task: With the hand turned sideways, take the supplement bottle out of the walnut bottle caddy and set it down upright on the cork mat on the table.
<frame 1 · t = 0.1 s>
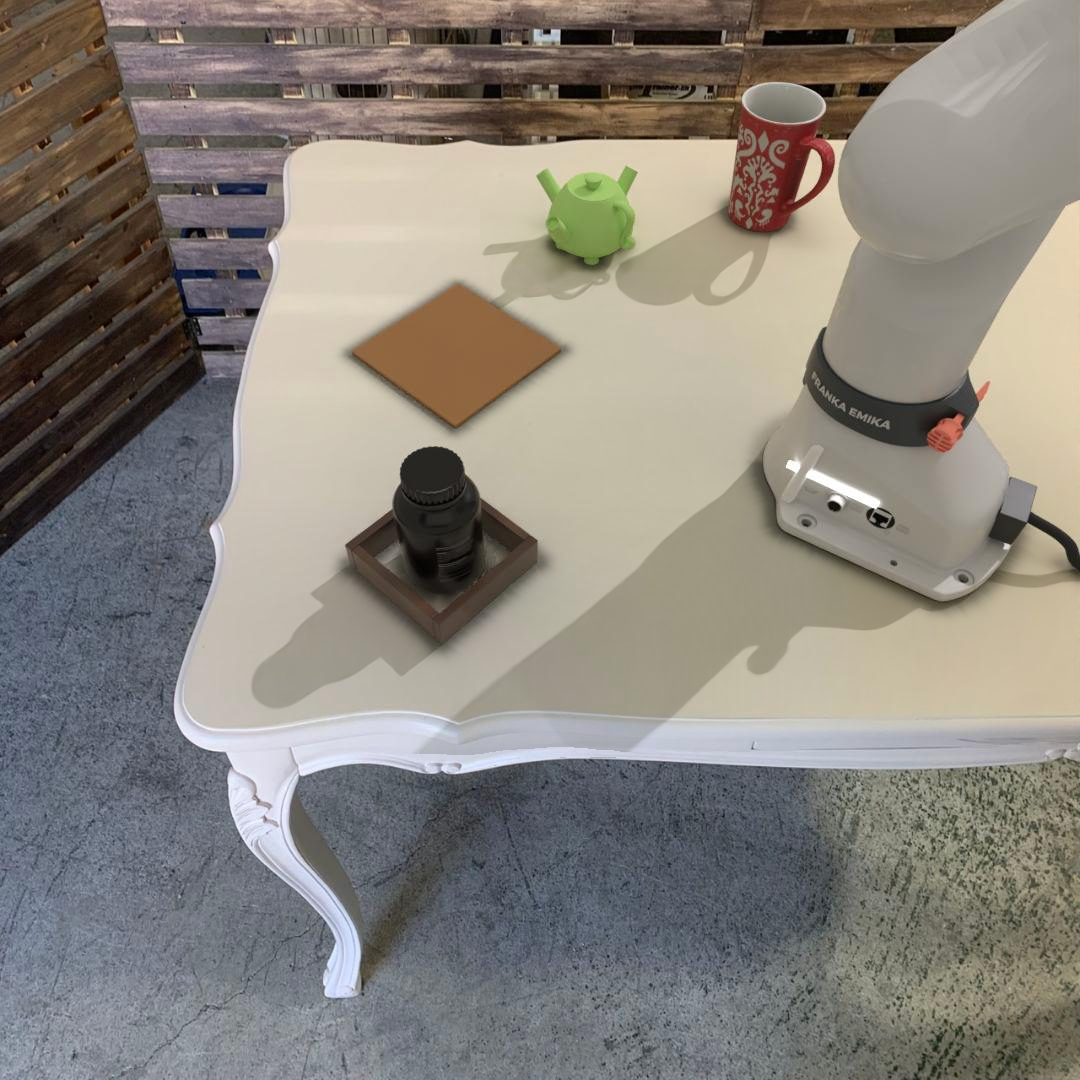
caddy: (444, 563, 75), on the table
teapot: (583, 243, 103), on the table
cork mat: (457, 352, 91), on the table
supplement bottle: (444, 564, 76), resting in caddy
mug: (766, 223, 106), on the table
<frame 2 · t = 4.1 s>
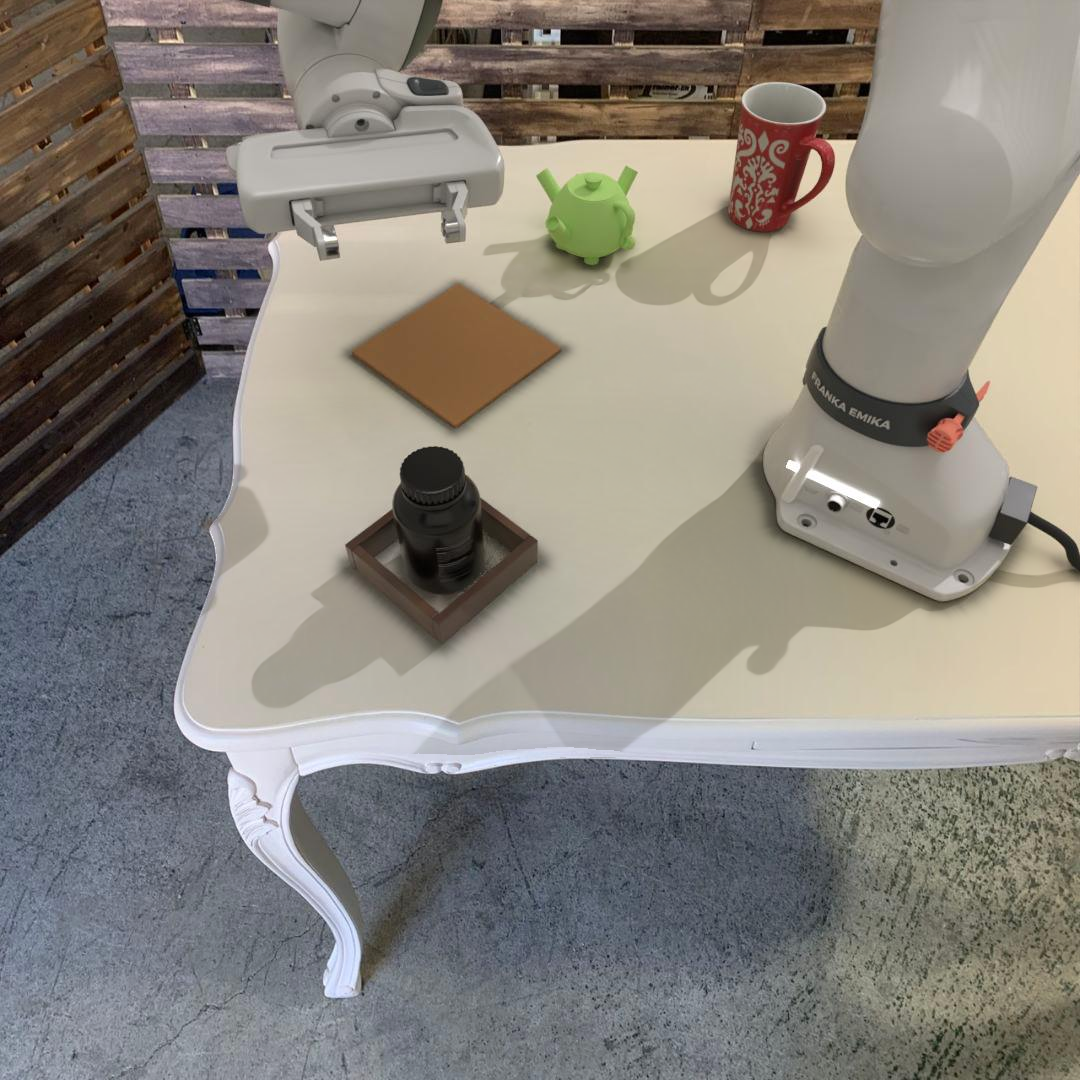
hand: (394, 244, 66), 22 cm above the table, tool horizontal, fingers open, 8 cm apart
nothing on the table moved.
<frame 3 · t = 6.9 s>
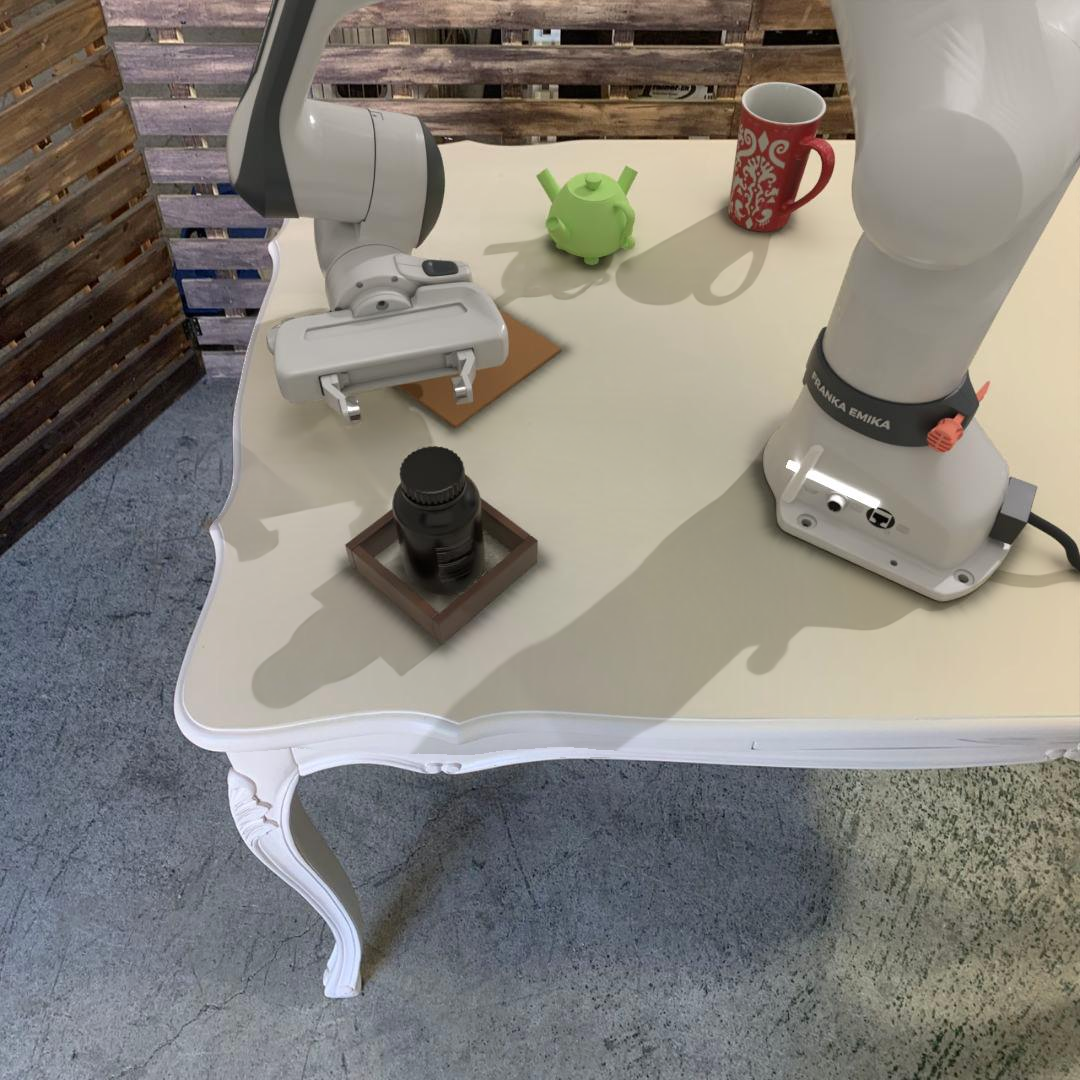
hand: (409, 409, 75), 8 cm above the table, tool horizontal, fingers open, 8 cm apart
nothing on the table moved.
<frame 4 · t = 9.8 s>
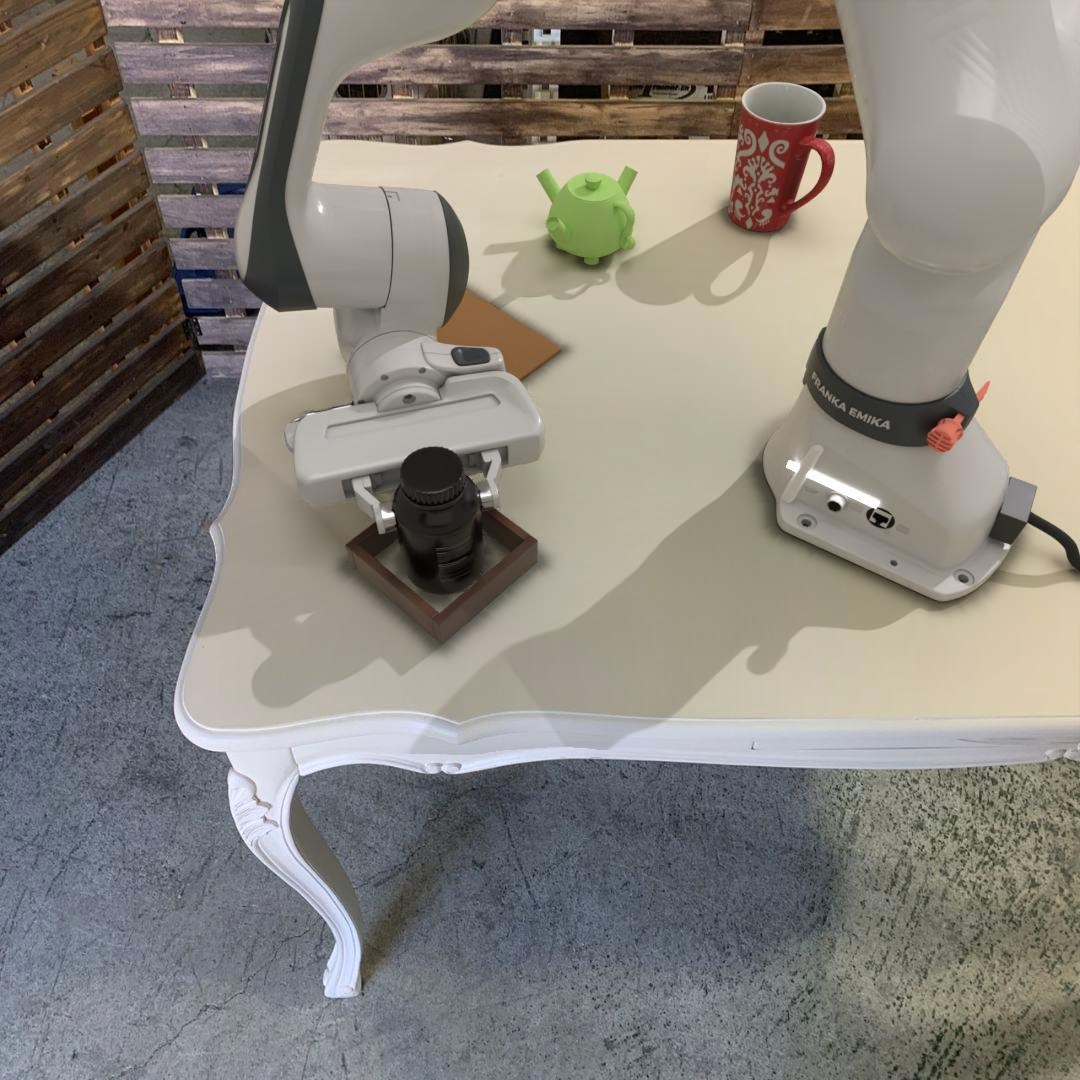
hand: (440, 516, 69), 8 cm above the table, tool horizontal, fingers closed on supplement bottle, 7 cm apart
supplement bottle: (444, 565, 76), resting in caddy, touching gripper
everything else where it was.
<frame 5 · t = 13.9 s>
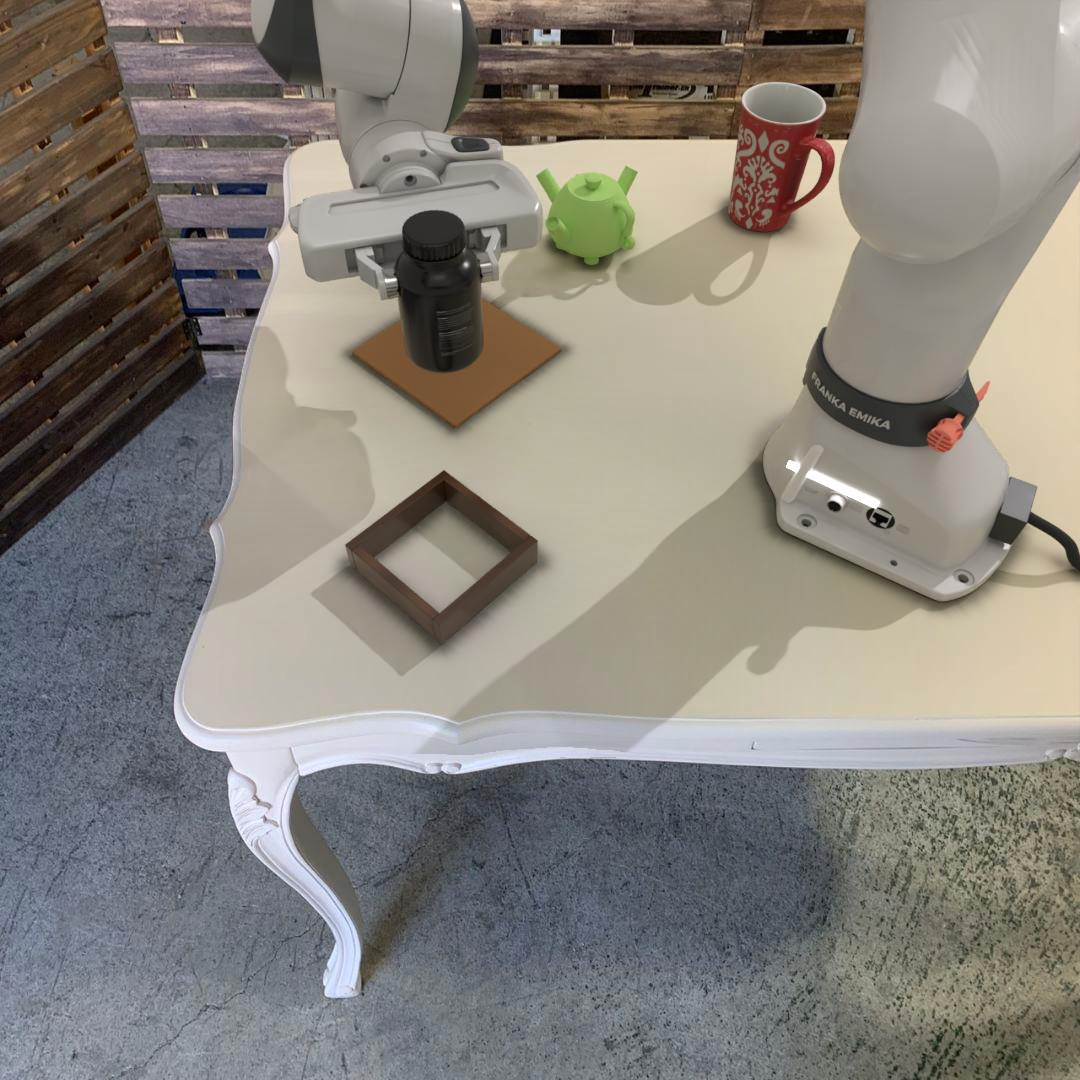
hand: (441, 283, 71), 17 cm above the table, tool horizontal, fingers closed on supplement bottle, 7 cm apart
supplement bottle: (444, 350, 77), point 9 cm above the table, touching gripper
everything else where it was.
when the fingers open (8 cm above the table, at t = 18.4 s): supplement bottle stays where it is, resting on cork mat.
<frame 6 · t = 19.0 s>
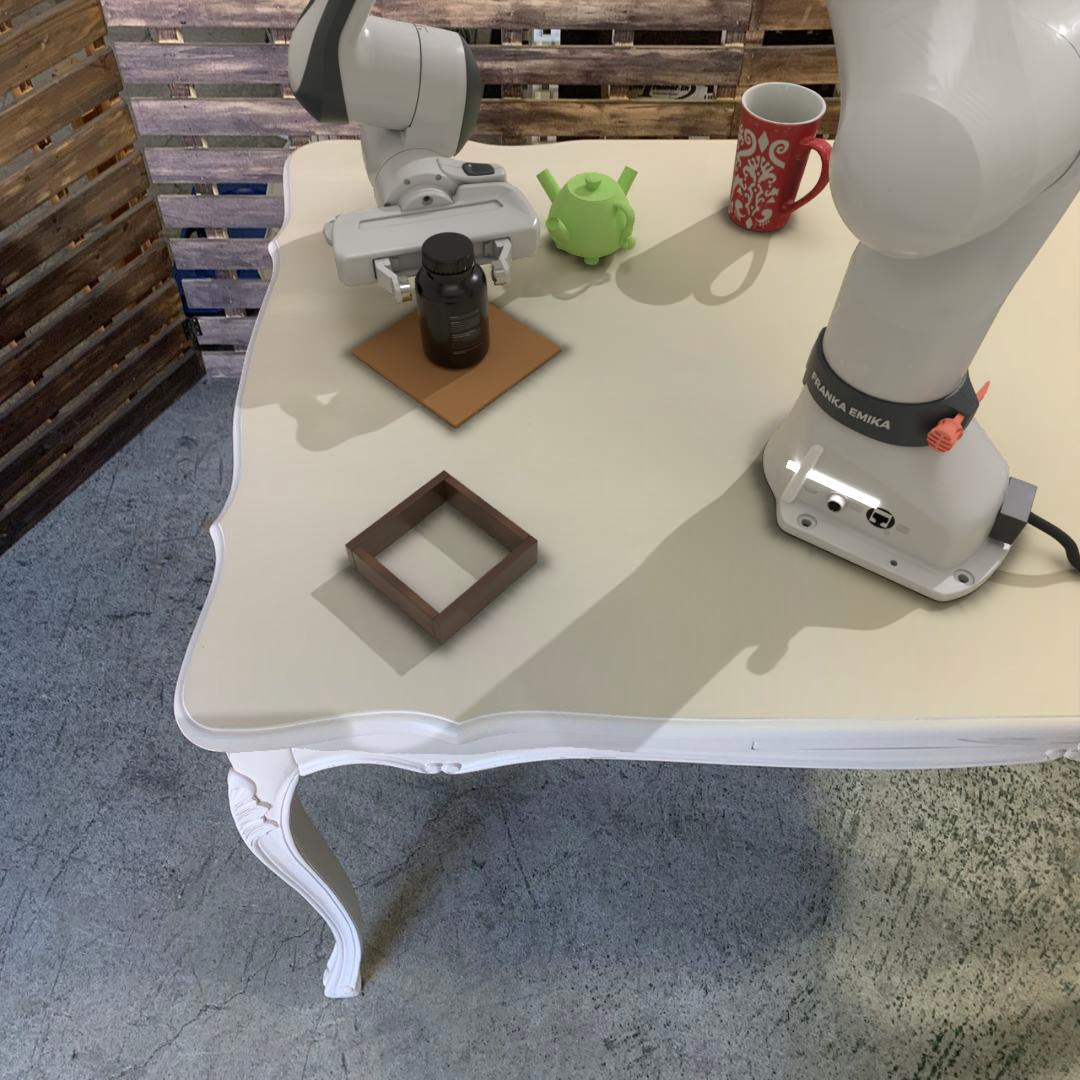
hand: (454, 287, 84), 9 cm above the table, tool horizontal, fingers open, 8 cm apart
supplement bottle: (456, 350, 91), resting on cork mat
everything else where it was.
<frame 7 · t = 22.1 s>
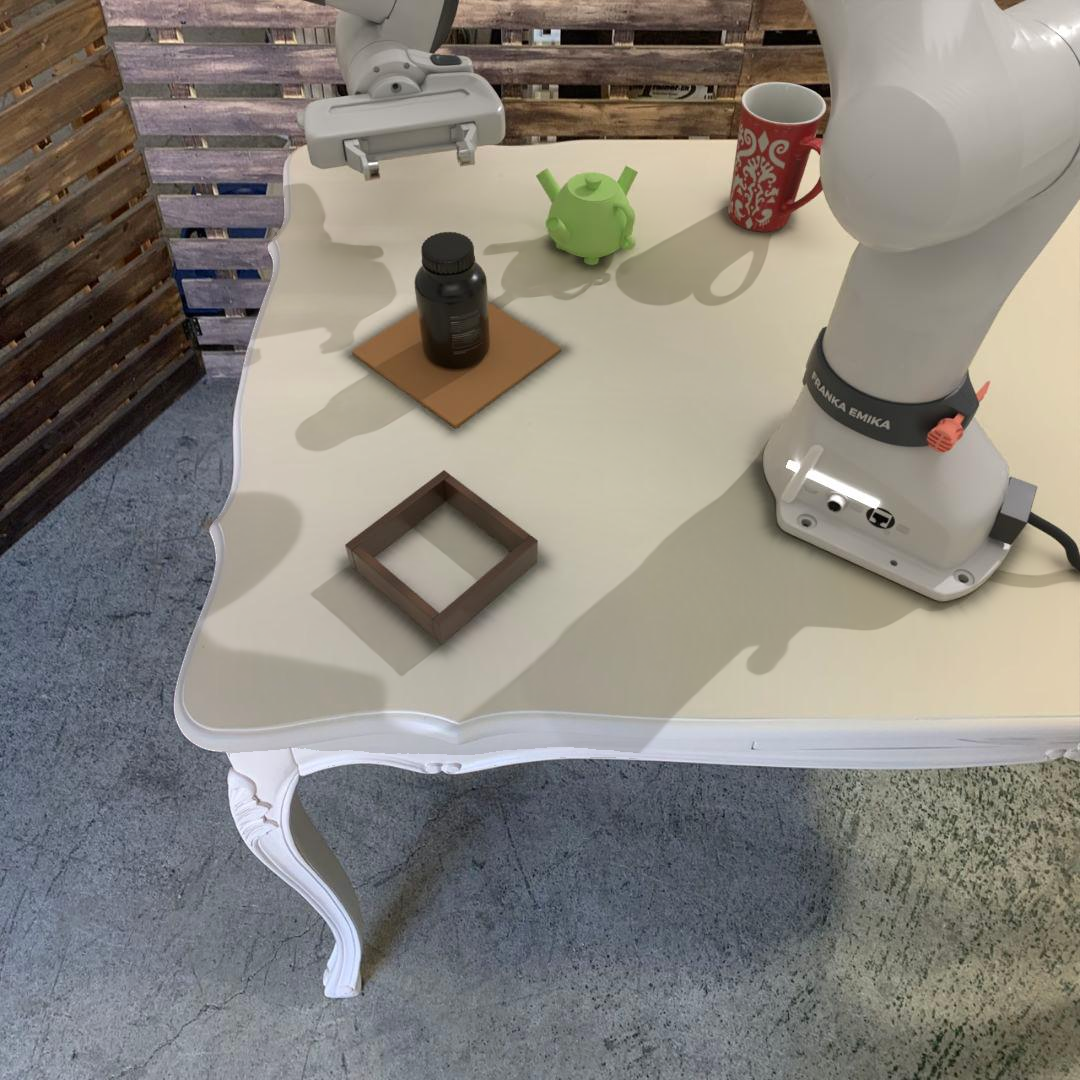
hand: (420, 166, 87), 13 cm above the table, tool horizontal, fingers open, 8 cm apart
nothing on the table moved.
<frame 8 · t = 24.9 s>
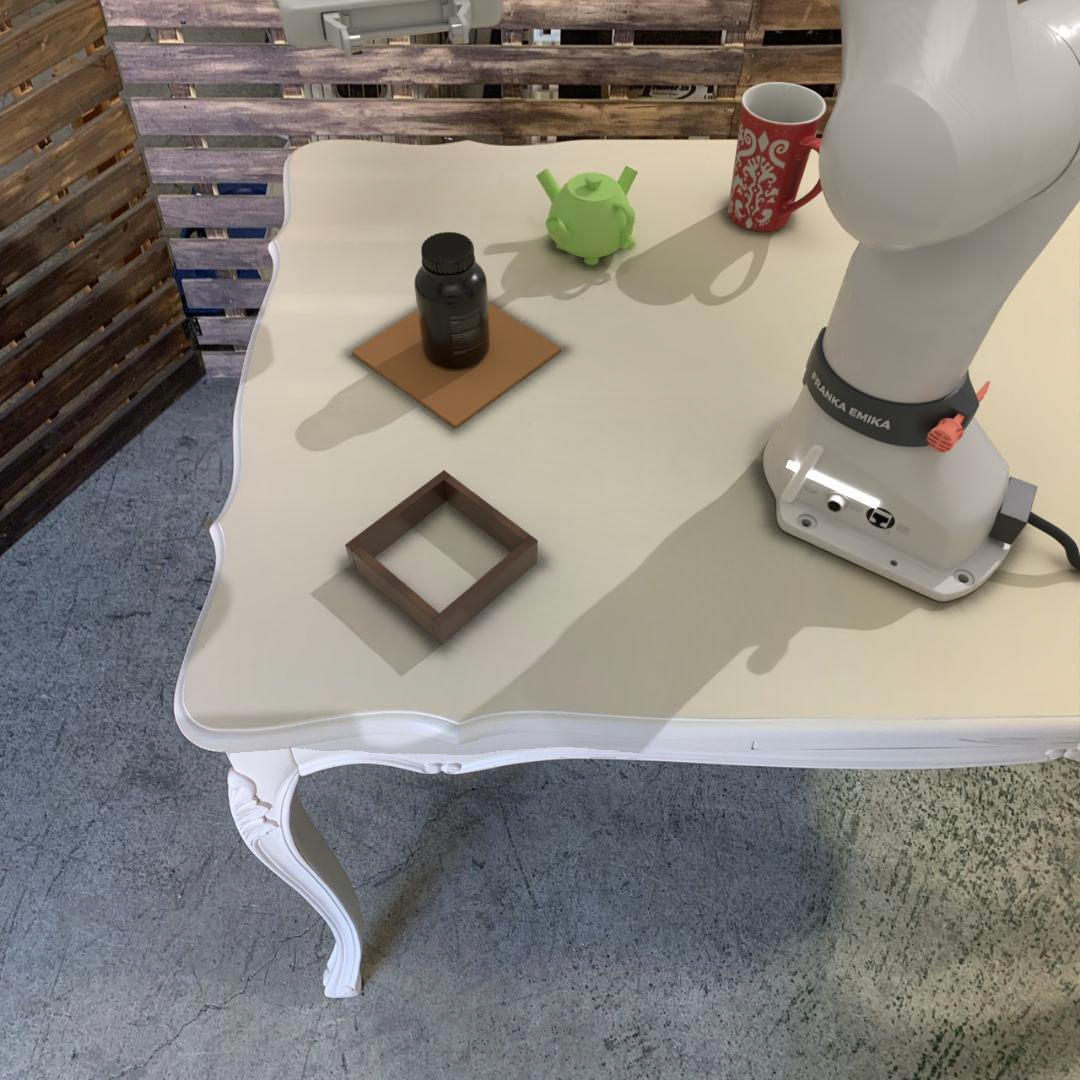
hand: (407, 41, 78), 25 cm above the table, tool horizontal, fingers open, 8 cm apart
nothing on the table moved.
at the end: supplement bottle inside the target area on the cork mat (0.1 cm from its centre), point 0.2 cm above the cork mat's base; supplement bottle tilted 0°; the gripper is holding nothing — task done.
